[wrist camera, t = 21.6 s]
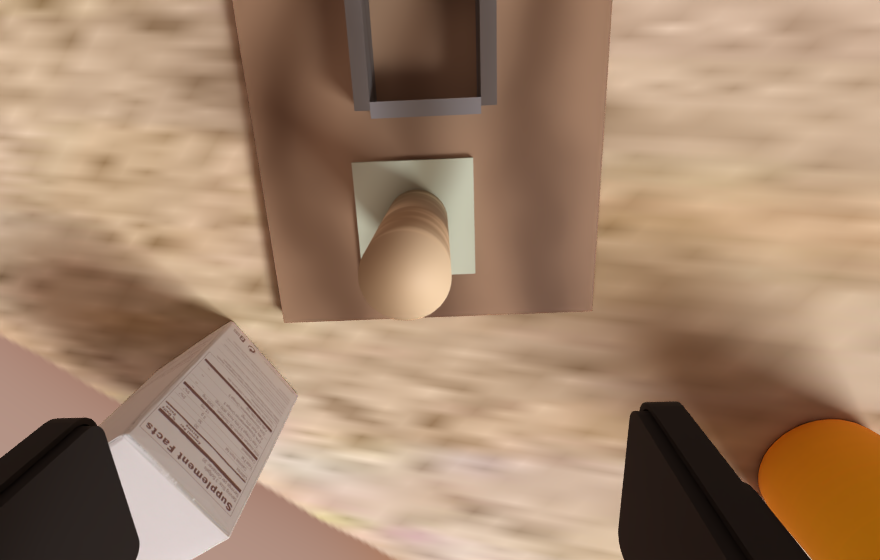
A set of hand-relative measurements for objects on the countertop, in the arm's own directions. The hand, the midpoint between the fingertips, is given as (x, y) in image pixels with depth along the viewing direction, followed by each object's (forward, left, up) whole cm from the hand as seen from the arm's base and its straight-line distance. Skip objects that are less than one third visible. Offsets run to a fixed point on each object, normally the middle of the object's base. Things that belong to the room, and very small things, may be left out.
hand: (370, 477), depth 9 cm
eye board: (-1, -7, -23) cm, 24 cm away
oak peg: (0, 0, -22) cm, 22 cm away
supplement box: (+14, +12, -24) cm, 30 cm away
